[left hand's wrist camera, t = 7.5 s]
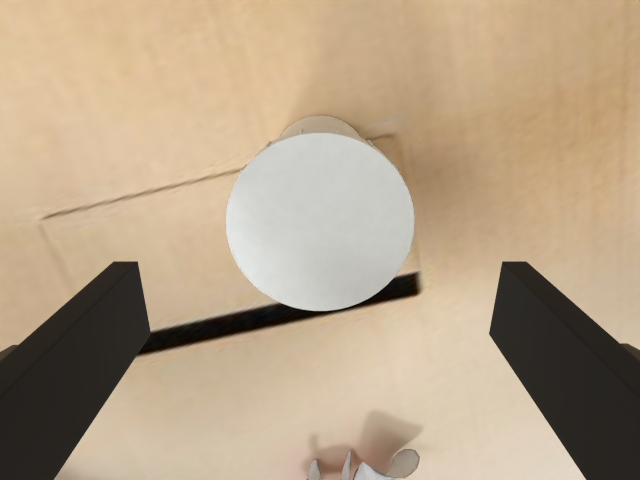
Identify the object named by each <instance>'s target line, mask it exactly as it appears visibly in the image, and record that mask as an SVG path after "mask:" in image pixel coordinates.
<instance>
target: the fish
mask: <svg viewBox="0 0 640 480" xmlns="http://www.w3.org/2000/svg"><path fill="white" fill-rule="evenodd" d="M419 459H420V456H419V455H418V454H417V452H416V451H415V450H412V449H404V450H402V451H401V452H399V453H398V454H397V455H396V456H394V457H393V459H392V464H391V466H390V468H389V470H388V471H387V473H386V474H385V475H384V474H381V473H380V472H378V471H376V470H374V469H372V468H371V467H369V466H368V465H367V464H366V463H364V462H363V461H362V463H361V464H360V466H359V467H358V469H357V470H356V472H355V475H354V478H353V480H391V479H396V478H406V477H407V476H409V475H410V474H412V473H413V472H414V471H415V470H416V469H417V467H418V464H419ZM350 462H351V451H349V454H348V457H347V459H346V462H345V464H344V467H343V470H342V474H341V478H340V480H350ZM320 477H321V472H320V469H319V466H318V462H317V460H314V461H313V462H312V464H311V467H310V469H309V472H308V478H307V480H319V479H320Z"/></svg>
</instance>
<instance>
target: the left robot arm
mask: <svg viewBox="0 0 640 480" xmlns="http://www.w3.org/2000/svg"><path fill="white" fill-rule="evenodd" d="M150 335H151V332H150V327H149V321H148V316H147V310H146V305H145V299H144V294H143V289H142V283H141V278H140V272H139V267H138V262H113V263H112V264H110V265H109V266H108V267H107V268H106V269H105V270H104V271H102V272H101V273H100V274H99V275H98V276H97V277H96V278H94V279H93V280H92V281H91V282H90V283H89V284H88V285H87V286H85V287H84V288H83V289H82V290H81V291H80V292H79V293H77V294H76V295H75V296H74V297H73V298H72V299H71V300H69V301H68V302H67V303H66V304H65V305H64V306H63V307H61V308H60V309H59V310H58V311H57V312H56V313H55V314H53V315H52V316H51V317H50V318H49V319H48V320H47V321H45V322H44V323H43V324H42V325H41V326H40V327H39V328H37V329H36V330H35V331H34V332H33V333H32V334H31V335H30V336H28V337H27V338H26V339H25V340H24V341H23V342H22V343H20V344H19V345H12V346H10V347H9V348H7V349H5V350H3V351H1V352H0V480H54V478H55V477H56V475H57V474H58V472H59V471H60V469H61V468H62V466H63V465H64V463H65V462H66V460H67V459H68V457H69V456H70V454H71V453H72V451H73V450H74V448H75V447H76V445H77V444H78V442H79V441H80V439H81V438H82V436H83V435H84V433H85V432H86V430H87V429H88V427H89V426H90V424H91V423H92V421H93V420H94V419H95V417H96V416H97V414H98V413H99V411H100V410H101V408H102V407H103V405H104V404H105V402H106V401H107V399H108V398H109V396H110V395H111V393H112V392H113V390H114V389H115V387H116V386H117V384H118V383H119V381H120V380H121V378H122V377H123V375H124V374H125V372H126V371H127V369H128V368H129V366H130V365H131V363H132V362H133V360H134V359H135V357H136V356H137V354H138V353H139V351H140V350H141V348H142V347H143V345H144V344H145V342H146V341H147V339H148V338H149V336H150ZM489 335H490V336H491V338H492V339H493V341H494V342H495V344H496V345H497V347H498V348H499V350H500V351H501V353H502V354H503V356H504V357H505V359H506V360H507V362H508V363H509V365H510V366H511V368H512V369H513V371H514V372H515V374H516V375H517V377H518V378H519V380H520V381H521V383H522V384H523V386H524V387H525V389H526V390H527V392H528V393H529V395H530V396H531V398H532V399H533V401H534V402H535V404H536V405H537V407H538V408H539V410H540V411H541V413H542V414H543V416H544V417H545V419H546V420H547V422H548V423H549V424H550V426H551V427H552V429H553V430H554V432H555V433H556V435H557V436H558V438H559V439H560V441H561V442H562V444H563V445H564V447H565V448H566V450H567V451H568V453H569V454H570V456H571V457H572V459H573V460H574V462H575V463H576V465H577V466H578V468H579V469H580V471H581V472H582V474H583V475H584V477H585V478H586V480H640V350H638V349H636V348H634V347H633V346H631V345H629V344H620V343H618V342H617V341H616V340H615V339H614V338H613V337H612V336H610V335H609V334H608V333H607V332H606V331H605V330H604V329H603V328H601V327H600V326H599V325H598V324H597V323H596V322H595V321H593V320H592V319H591V318H590V317H589V316H588V315H587V314H585V313H584V312H583V311H582V310H581V309H580V308H579V307H577V306H576V305H575V304H574V303H573V302H572V301H571V300H569V299H568V298H567V297H566V296H565V295H564V294H563V293H561V292H560V291H559V290H558V289H557V288H556V287H555V286H553V285H552V284H551V283H550V282H549V281H548V280H547V279H546V278H544V277H543V276H542V275H541V274H540V273H539V272H538V271H536V270H535V269H534V268H533V267H532V266H531V265H530V264H528V263H527V262H502V267H501V272H500V278H499V283H498V289H497V294H496V299H495V305H494V310H493V316H492V321H491V327H490V332H489Z"/></svg>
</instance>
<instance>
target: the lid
mask: <svg viewBox="0 0 640 480" xmlns="http://www.w3.org/2000/svg"><path fill="white" fill-rule="evenodd" d="M398 170H399V169H398V168H397V167H396V165H395V164H394V163H391V162H390V161H389V160H388V159H387V157H386V156H385V155H384V154H383V153H382V152H381V151H380V150H379V149H377V148H376V147H375V146H374V145H373V144H372V143H371V142H370V140H367V141H366V140H364V139H363V138H361V137H359V136H356V135H354V134H352V133H349V132H345V131H342V130H338V128H336V127H335V129H330V128H310V129H303V128H300V130H298V131H295V132H291V133H289V134H286V135H284V136H282V137H279V138H278V139H276V140H274V141H273V142H271V141H269V142H268V143H267V144H266V146H265V147H264V148H263V149H262V150H260V151H259V152H258V153H257V154H256V156H255V157H254V158H253V159H252V160H251V161H250V162H249V163H248V164H247V165H245V166H244V167H243V168H242V169H241V171H240V172H241V174H240V175H239V177H238V178H237V180H236V182H235V184H234V186H233V188H232V191H231V194H230V197H229V199H228V202H227V210H226V234H227V239H228V243H229V247H230V250H231V252H232V255H233V257H234V259H235V261H236V263H237V265H238V267H239V268H240V270H241V271H242V272H243V274H244V275H245V277H246V278H247V279H248V280H249V281H250V282H251V283H252V284H253V285H254V286H255V287H256V288H258V289H259V290H260V291H261V292H263V293H264V294H266V295H267V296H269V297H270V298H272V299H274V300H276V301H278V302H280V303H282V304H285V305H288V306H291V307H294V308H299V309H303V310H312V311H328V310H337V309H341V308H346V307H349V306H352V305H355V304H358V303H360V302H362V301H364V300H366V299H368V298H370V297H371V296H373V295H375V294H376V293H378V292H379V291H380V290H381V289H383V288H384V287H385V286H386V285H387V284H388V283H389V282H390V281H391V280H392V279H393V278H394V277H395V275H396V274H397V273H398V271H399V270H400V269H401V267H402V265H403V263H404V262H405V260H406V258H407V256H408V253H409V250H410V248H411V244H412V240H413V236H414V226H415V218H414V208H413V203H412V198H411V196H410V193H409V190H408V187H407V186H406V184H405V182H404V180H403V178H402V176H401V175H400V173H399V172H398Z"/></svg>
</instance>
